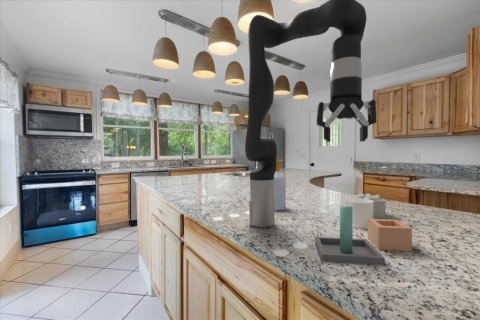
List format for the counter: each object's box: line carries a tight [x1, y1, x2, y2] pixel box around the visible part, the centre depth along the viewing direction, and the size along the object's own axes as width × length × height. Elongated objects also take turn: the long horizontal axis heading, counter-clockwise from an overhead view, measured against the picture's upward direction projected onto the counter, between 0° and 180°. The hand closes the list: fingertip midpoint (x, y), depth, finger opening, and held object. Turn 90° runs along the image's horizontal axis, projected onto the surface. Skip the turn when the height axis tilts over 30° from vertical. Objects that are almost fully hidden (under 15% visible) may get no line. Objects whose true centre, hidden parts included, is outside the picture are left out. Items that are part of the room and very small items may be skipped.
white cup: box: [348, 197, 374, 230], centre depth 83 cm, size 8×8×10 cm
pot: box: [367, 218, 413, 252], centre depth 66 cm, size 8×8×7 cm
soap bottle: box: [274, 159, 287, 212], centre depth 113 cm, size 9×9×24 cm
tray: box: [314, 236, 386, 266], centre depth 62 cm, size 14×12×2 cm
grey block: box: [354, 193, 387, 219], centre depth 101 cm, size 10×13×9 cm
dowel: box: [339, 204, 353, 254], centre depth 61 cm, size 3×3×12 cm
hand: (345, 141), depth 62 cm, fingers open, 8 cm apart
